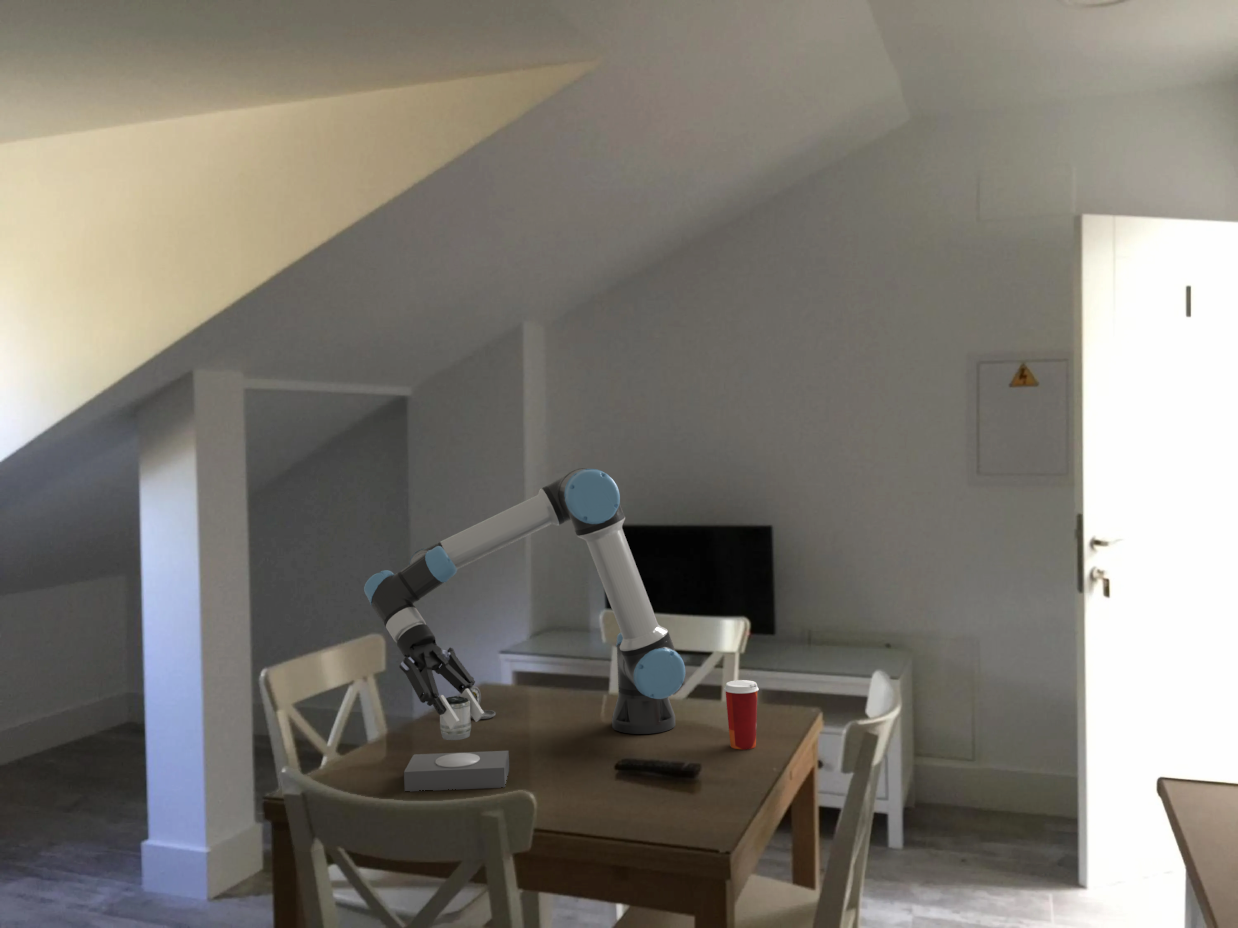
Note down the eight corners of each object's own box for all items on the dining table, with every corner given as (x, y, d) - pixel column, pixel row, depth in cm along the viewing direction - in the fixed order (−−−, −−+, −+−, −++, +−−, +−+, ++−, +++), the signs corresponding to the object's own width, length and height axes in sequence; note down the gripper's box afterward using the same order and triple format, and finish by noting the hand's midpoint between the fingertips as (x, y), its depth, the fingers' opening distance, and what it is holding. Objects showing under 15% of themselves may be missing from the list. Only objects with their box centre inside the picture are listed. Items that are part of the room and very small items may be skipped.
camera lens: (459, 730, 229) (457, 693, 228) (477, 735, 224) (476, 697, 224) (434, 736, 224) (433, 698, 224) (452, 742, 220) (451, 703, 220)
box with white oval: (509, 769, 231) (508, 748, 231) (504, 787, 219) (504, 765, 219) (414, 773, 230) (413, 752, 230) (404, 791, 218) (403, 770, 218)
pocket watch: (493, 720, 272) (492, 680, 272) (460, 721, 272) (458, 681, 272) (497, 711, 280) (496, 673, 280) (465, 712, 280) (463, 674, 280)
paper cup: (767, 744, 242) (765, 682, 242) (746, 752, 237) (744, 688, 236) (739, 739, 248) (737, 677, 247) (718, 746, 242) (716, 684, 242)
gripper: (437, 637, 241) (492, 721, 231) (367, 653, 226) (423, 743, 216) (453, 615, 237) (509, 699, 228) (383, 629, 222) (440, 720, 213)
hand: (467, 720), depth 222 cm, fingers closed on camera lens, 6 cm apart
